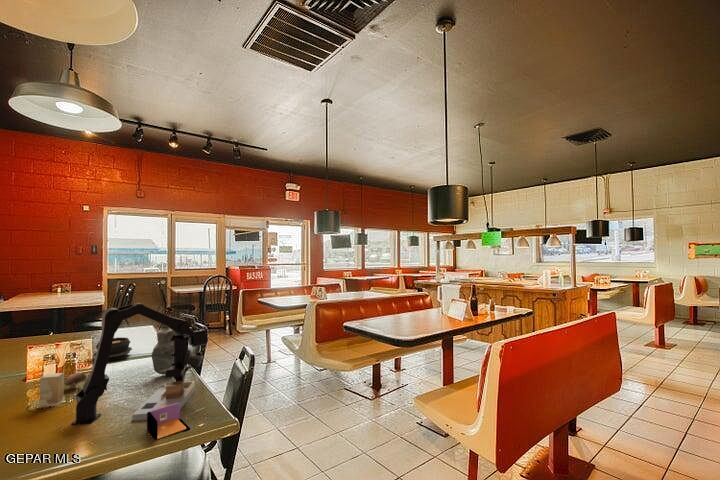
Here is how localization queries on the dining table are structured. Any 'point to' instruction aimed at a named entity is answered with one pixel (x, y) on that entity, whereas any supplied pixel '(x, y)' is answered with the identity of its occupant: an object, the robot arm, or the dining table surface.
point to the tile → (164, 405)
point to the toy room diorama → (165, 422)
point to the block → (174, 389)
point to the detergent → (163, 351)
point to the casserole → (118, 347)
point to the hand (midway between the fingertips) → (180, 386)
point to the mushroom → (75, 379)
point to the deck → (163, 401)
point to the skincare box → (51, 389)
